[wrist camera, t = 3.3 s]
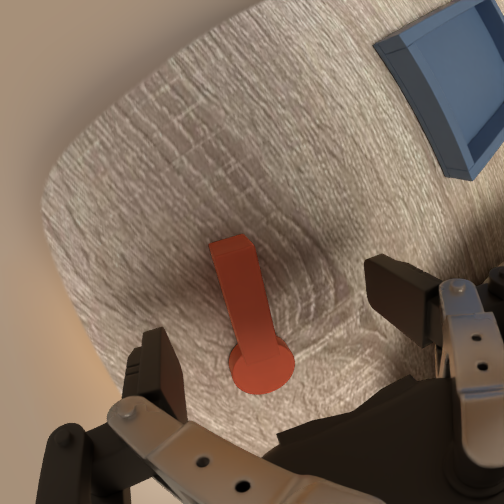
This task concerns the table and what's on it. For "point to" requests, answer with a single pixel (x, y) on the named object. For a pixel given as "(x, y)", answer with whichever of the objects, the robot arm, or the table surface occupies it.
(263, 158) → the table surface
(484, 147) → the blue tray
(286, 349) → the red spoon
